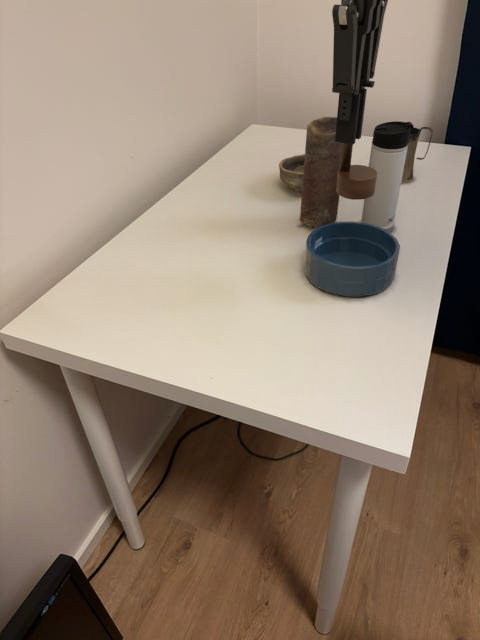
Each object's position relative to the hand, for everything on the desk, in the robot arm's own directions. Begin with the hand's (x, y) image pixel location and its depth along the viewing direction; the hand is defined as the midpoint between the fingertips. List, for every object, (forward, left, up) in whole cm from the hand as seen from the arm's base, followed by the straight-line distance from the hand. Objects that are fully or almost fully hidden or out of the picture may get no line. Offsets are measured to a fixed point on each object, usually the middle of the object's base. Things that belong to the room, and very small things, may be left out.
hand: (348, 139), depth 69 cm
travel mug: (-1, -20, -24) cm, 31 cm away
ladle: (-2, 0, -7) cm, 8 cm away
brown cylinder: (+10, -16, -24) cm, 31 cm away
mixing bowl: (-2, -2, -24) cm, 24 cm away
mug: (+1, -45, -24) cm, 51 cm away
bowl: (+19, -32, -24) cm, 45 cm away
